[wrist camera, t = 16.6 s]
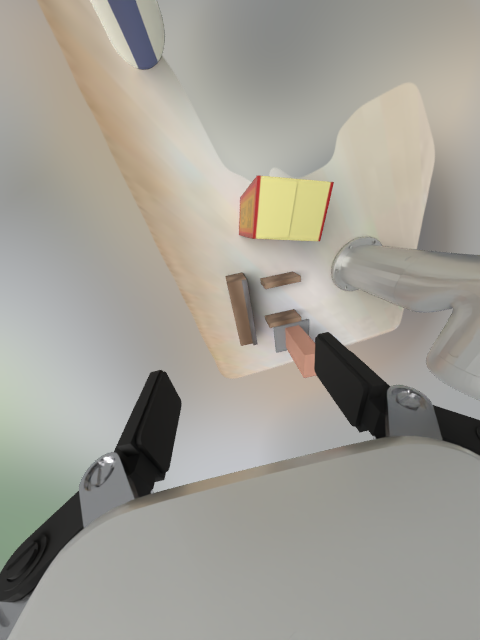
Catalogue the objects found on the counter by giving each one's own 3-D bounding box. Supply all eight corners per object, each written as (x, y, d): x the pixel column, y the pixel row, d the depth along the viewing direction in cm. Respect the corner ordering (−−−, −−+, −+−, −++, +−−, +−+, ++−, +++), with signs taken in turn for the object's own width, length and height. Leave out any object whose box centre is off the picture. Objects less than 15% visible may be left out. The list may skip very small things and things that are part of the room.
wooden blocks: (292, 261, 40) (305, 267, 34) (294, 320, 48) (305, 333, 42) (225, 276, 40) (227, 284, 34) (238, 333, 48) (241, 347, 42)
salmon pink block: (299, 325, 48) (322, 351, 38) (299, 344, 52) (320, 374, 41) (285, 327, 48) (304, 355, 38) (286, 347, 52) (304, 378, 41)
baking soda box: (287, 200, 35) (335, 181, 21) (282, 236, 38) (321, 241, 24) (240, 197, 33) (257, 174, 19) (239, 235, 36) (253, 238, 22)
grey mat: (308, 319, 48) (308, 319, 48) (307, 344, 53) (308, 345, 52) (273, 326, 48) (274, 327, 48) (276, 351, 52) (276, 352, 52)
